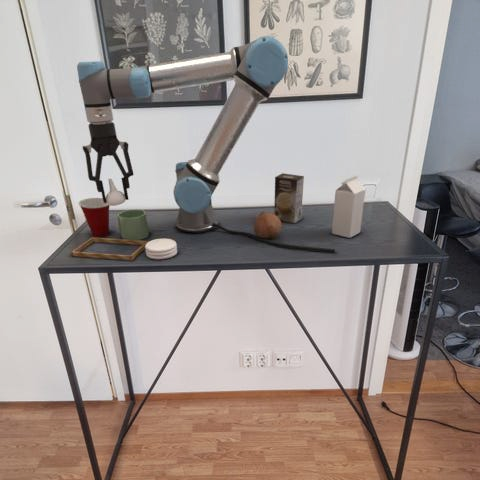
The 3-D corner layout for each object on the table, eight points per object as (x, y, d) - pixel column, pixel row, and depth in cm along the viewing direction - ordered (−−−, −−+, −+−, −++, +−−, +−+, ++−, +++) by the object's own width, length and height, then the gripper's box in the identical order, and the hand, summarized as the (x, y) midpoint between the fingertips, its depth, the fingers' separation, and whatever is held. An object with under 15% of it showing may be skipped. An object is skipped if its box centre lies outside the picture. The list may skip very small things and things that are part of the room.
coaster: (179, 257, 133) (178, 247, 131) (148, 262, 130) (146, 251, 128) (174, 246, 141) (173, 236, 139) (144, 250, 138) (143, 240, 137)
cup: (153, 231, 153) (150, 210, 149) (142, 241, 145) (138, 218, 141) (129, 230, 155) (125, 209, 151) (116, 239, 148) (112, 217, 143)
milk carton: (360, 232, 146) (367, 176, 136) (349, 238, 142) (356, 181, 132) (342, 228, 151) (347, 173, 141) (331, 234, 146) (336, 177, 136)
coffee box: (273, 219, 161) (273, 176, 152) (280, 215, 165) (281, 172, 157) (294, 223, 156) (296, 179, 148) (302, 218, 161) (304, 175, 153)
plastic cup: (108, 240, 147) (101, 206, 141) (80, 238, 149) (72, 205, 143) (121, 229, 156) (115, 197, 150) (95, 228, 158) (88, 196, 152)
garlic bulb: (127, 205, 136) (122, 179, 131) (107, 207, 134) (101, 182, 130) (125, 200, 141) (121, 175, 137) (106, 202, 139) (101, 177, 135)
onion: (258, 244, 148) (249, 216, 146) (284, 235, 147) (275, 207, 146) (258, 244, 139) (249, 214, 137) (286, 235, 138) (277, 205, 136)
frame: (149, 244, 143) (148, 241, 142) (131, 260, 132) (131, 256, 131) (93, 241, 147) (92, 237, 146) (71, 256, 136) (70, 252, 135)
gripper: (67, 126, 119) (86, 207, 131) (135, 121, 125) (147, 199, 137) (66, 123, 125) (84, 201, 137) (131, 118, 131) (143, 193, 143)
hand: (115, 200), depth 137 cm, fingers closed on garlic bulb, 6 cm apart
